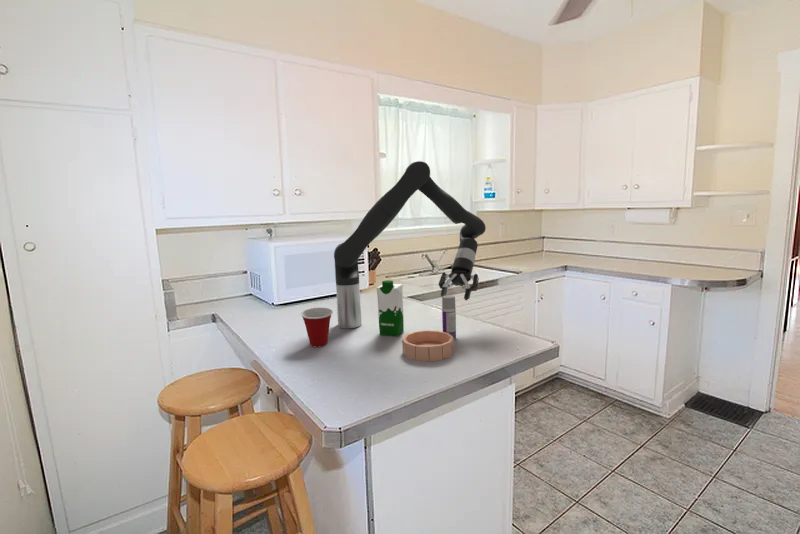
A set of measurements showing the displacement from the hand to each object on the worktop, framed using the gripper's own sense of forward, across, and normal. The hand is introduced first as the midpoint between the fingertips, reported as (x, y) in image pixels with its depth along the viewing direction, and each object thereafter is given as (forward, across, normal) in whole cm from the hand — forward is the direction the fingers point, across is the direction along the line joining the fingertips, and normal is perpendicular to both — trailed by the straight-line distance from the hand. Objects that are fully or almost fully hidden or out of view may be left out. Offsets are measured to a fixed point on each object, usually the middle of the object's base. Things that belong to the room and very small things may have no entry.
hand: (454, 298), depth 145 cm
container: (+13, 0, +5) cm, 14 cm away
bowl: (+24, -2, -5) cm, 24 cm away
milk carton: (+15, -22, +4) cm, 27 cm away
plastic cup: (+29, -40, -11) cm, 51 cm away
